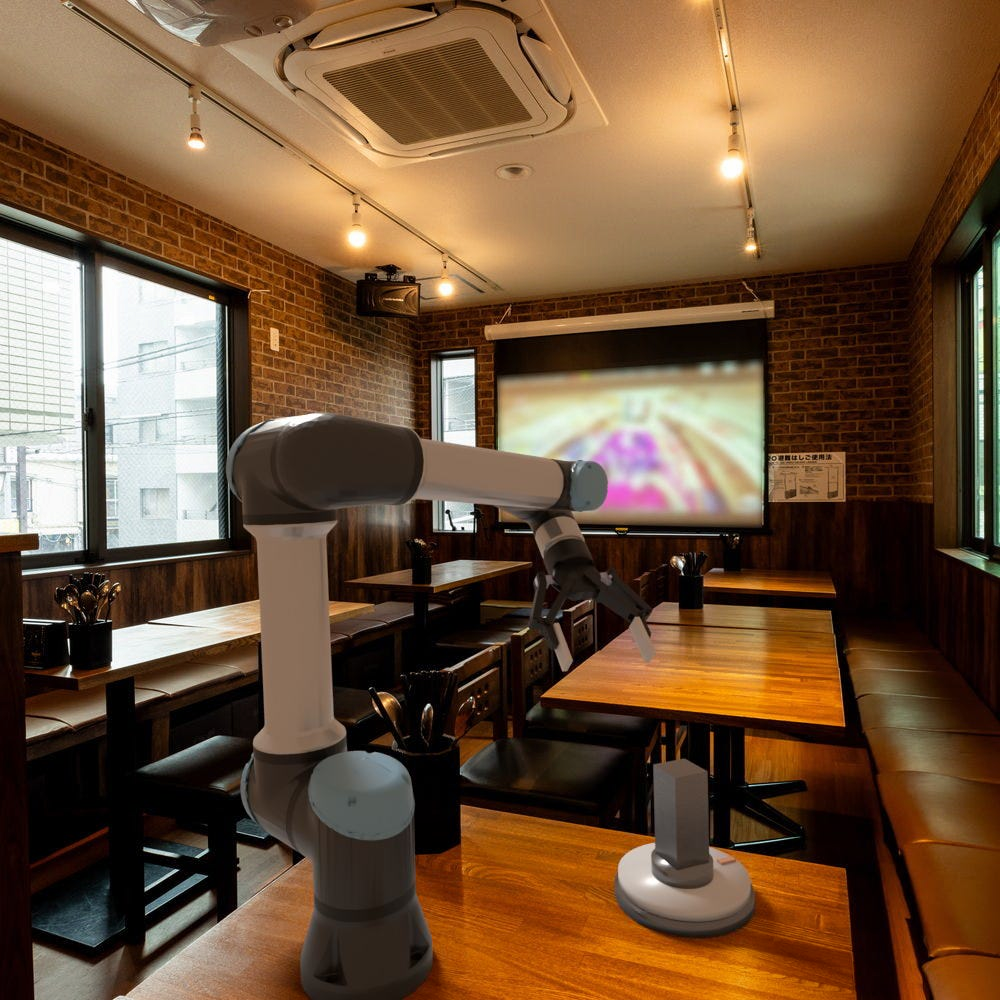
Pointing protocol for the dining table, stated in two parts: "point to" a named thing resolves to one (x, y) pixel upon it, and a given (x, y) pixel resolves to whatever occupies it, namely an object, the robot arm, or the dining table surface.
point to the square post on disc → (681, 825)
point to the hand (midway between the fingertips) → (610, 662)
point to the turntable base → (686, 927)
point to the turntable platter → (685, 904)
